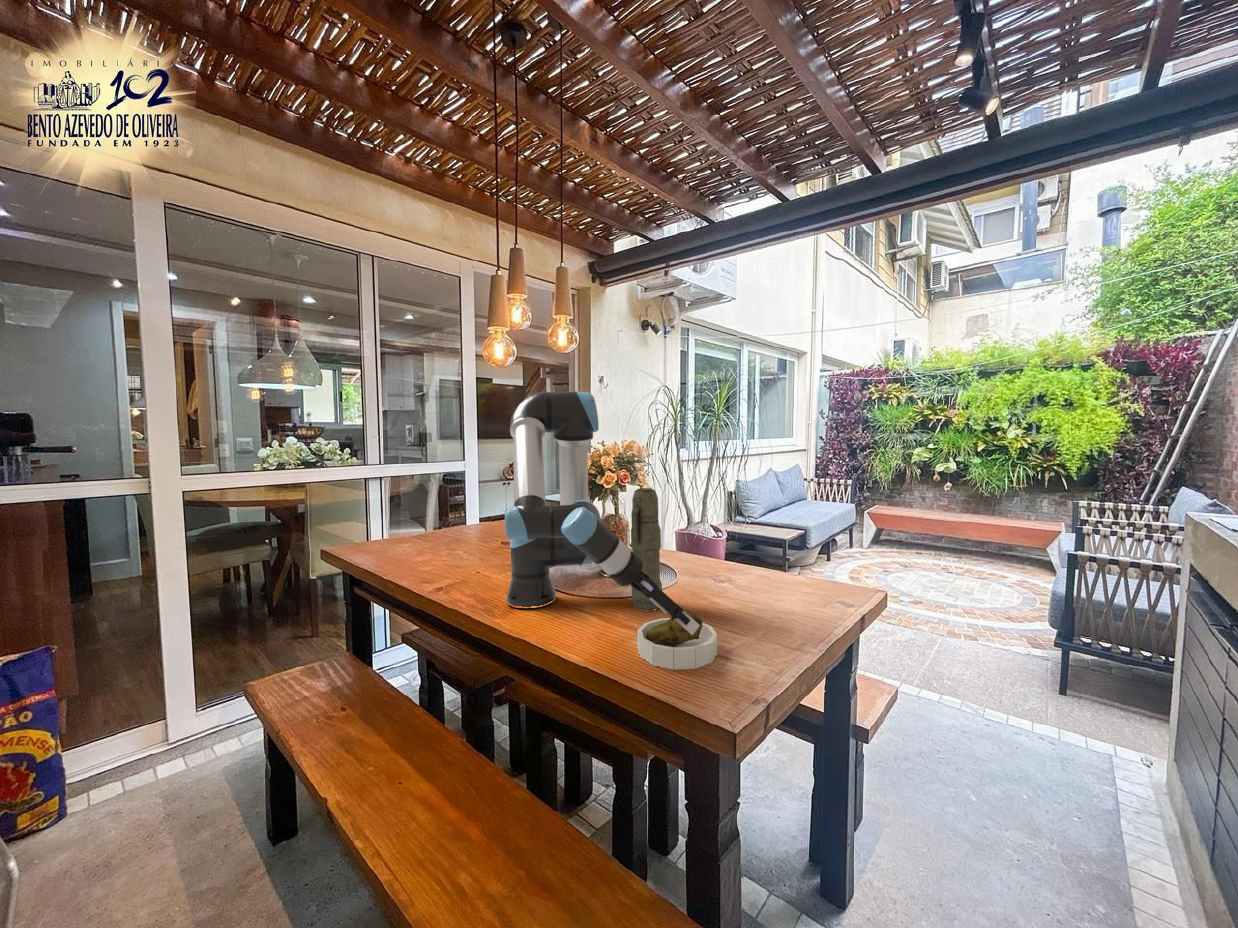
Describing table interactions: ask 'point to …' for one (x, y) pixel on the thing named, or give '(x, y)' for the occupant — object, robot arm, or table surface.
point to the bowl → (678, 649)
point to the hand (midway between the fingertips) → (681, 619)
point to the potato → (672, 632)
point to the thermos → (646, 541)
